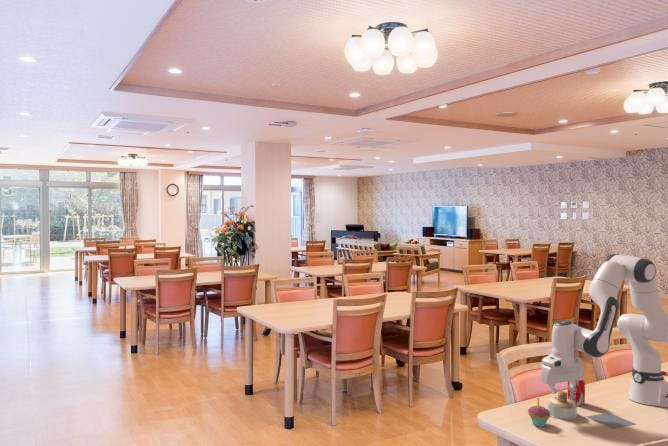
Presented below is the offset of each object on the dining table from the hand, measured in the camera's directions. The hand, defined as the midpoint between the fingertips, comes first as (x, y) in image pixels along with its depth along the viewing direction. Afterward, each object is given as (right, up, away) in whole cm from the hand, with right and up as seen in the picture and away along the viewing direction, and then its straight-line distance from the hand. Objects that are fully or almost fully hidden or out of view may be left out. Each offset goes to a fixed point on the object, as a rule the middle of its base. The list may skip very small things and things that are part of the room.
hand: (562, 391), depth 220 cm
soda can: (+12, -10, +13) cm, 20 cm away
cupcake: (-14, -10, -10) cm, 20 cm away
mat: (+17, -10, -6) cm, 21 cm away
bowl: (0, -10, 0) cm, 10 cm away
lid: (0, -5, 0) cm, 5 cm away
